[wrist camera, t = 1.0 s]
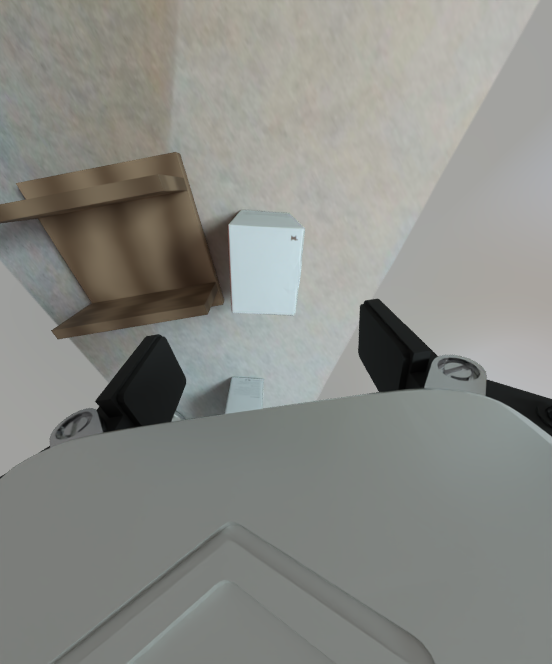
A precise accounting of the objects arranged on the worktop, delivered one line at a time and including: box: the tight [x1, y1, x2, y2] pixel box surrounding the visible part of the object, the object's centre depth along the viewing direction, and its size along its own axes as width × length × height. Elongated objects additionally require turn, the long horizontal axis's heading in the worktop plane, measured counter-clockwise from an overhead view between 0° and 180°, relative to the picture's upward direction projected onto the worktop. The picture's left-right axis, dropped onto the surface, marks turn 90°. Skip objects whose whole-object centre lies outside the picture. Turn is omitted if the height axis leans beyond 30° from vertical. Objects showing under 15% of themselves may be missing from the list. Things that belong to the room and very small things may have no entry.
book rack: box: [0, 152, 224, 339], centre depth 27 cm, size 18×18×9 cm
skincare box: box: [224, 377, 264, 414], centre depth 42 cm, size 10×6×10 cm, turn 173°
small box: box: [228, 210, 305, 316], centre depth 26 cm, size 8×6×13 cm
